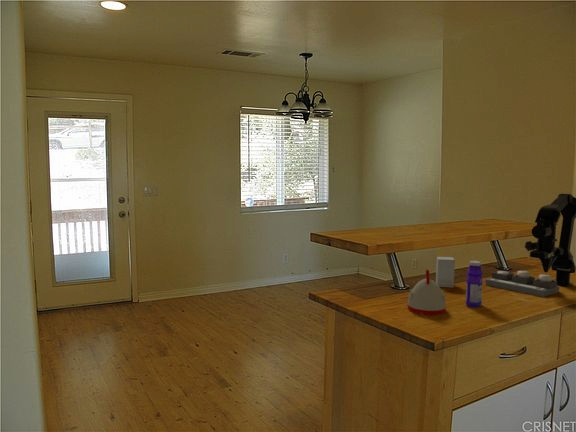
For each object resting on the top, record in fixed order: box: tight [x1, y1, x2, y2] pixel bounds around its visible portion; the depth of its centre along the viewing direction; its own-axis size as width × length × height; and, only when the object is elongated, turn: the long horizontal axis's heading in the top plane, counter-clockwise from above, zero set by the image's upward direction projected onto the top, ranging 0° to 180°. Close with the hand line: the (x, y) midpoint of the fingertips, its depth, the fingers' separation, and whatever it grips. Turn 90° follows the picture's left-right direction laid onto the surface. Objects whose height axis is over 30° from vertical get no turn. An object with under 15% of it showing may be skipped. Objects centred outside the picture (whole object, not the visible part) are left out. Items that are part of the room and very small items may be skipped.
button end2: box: [538, 273, 553, 283], centre depth 211 cm, size 5×5×2 cm
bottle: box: [465, 260, 484, 308], centre depth 190 cm, size 7×6×17 cm
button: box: [496, 270, 509, 275], centre depth 226 cm, size 5×5×2 cm
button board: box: [485, 271, 560, 298], centre depth 218 cm, size 14×26×5 cm, turn 38°
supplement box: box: [435, 256, 456, 288], centre depth 222 cm, size 7×7×13 cm
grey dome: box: [407, 269, 447, 316], centre depth 185 cm, size 14×14×15 cm
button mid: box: [516, 270, 531, 279], centre depth 218 cm, size 5×5×2 cm
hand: (545, 272), depth 211 cm, fingers closed
